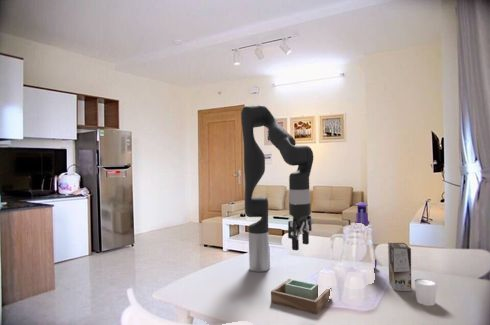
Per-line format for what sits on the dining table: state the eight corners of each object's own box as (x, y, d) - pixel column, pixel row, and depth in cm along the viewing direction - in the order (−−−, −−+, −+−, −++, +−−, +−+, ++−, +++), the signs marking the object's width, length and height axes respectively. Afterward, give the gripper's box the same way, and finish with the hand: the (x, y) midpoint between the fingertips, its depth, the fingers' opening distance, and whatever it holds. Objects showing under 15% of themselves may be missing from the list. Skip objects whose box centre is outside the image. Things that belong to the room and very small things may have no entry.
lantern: (350, 262, 160) (348, 199, 159) (376, 264, 156) (374, 200, 155) (349, 271, 147) (347, 203, 147) (377, 273, 143) (375, 204, 143)
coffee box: (412, 291, 124) (411, 248, 124) (393, 290, 125) (393, 248, 125) (405, 282, 133) (404, 242, 132) (388, 281, 134) (387, 241, 134)
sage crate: (292, 292, 124) (292, 279, 124) (317, 298, 118) (317, 284, 118) (285, 297, 120) (285, 284, 119) (311, 304, 114) (311, 289, 114)
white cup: (410, 298, 118) (410, 278, 118) (429, 297, 119) (428, 277, 119) (422, 307, 111) (422, 286, 111) (442, 305, 112) (441, 285, 112)
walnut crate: (289, 289, 129) (289, 278, 129) (331, 298, 120) (331, 287, 120) (271, 302, 118) (270, 291, 118) (316, 314, 108) (316, 302, 108)
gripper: (298, 198, 126) (299, 241, 127) (280, 203, 114) (281, 250, 115) (317, 199, 122) (318, 243, 122) (300, 205, 110) (301, 253, 111)
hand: (300, 247), depth 119 cm, fingers open, 8 cm apart
